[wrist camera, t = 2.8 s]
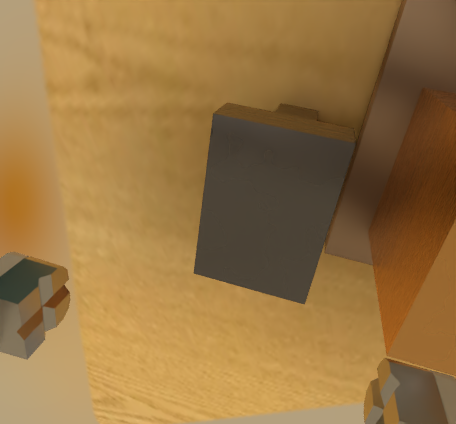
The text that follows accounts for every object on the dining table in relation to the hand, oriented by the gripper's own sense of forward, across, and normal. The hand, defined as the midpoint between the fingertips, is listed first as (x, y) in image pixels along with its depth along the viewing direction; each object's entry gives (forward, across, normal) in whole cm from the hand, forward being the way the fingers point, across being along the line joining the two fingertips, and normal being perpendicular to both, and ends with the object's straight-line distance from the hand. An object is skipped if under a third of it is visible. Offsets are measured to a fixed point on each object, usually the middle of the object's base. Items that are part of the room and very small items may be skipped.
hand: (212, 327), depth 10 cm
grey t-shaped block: (+18, 0, 0) cm, 18 cm away
